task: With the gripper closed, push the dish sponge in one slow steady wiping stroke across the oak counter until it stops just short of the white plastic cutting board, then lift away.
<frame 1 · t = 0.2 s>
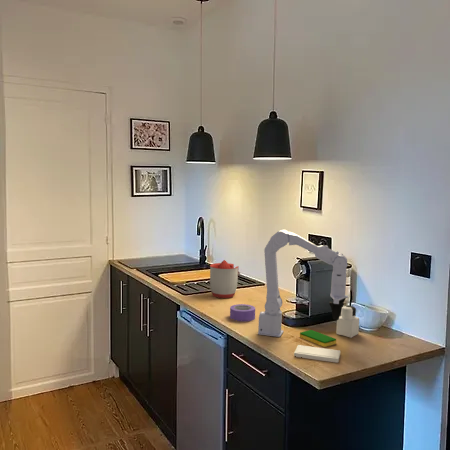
hand: (336, 316, 196), 10 cm above the worktop, tool pointing down, fingers open, 7 cm apart
dish sponge: (317, 341, 196), on the worktop
medicine bottle: (347, 334, 205), on the worktop
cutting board: (317, 355, 179), on the worktop
citrus juicer: (224, 296, 263), on the worktop
tape roll: (242, 318, 224), on the worktop
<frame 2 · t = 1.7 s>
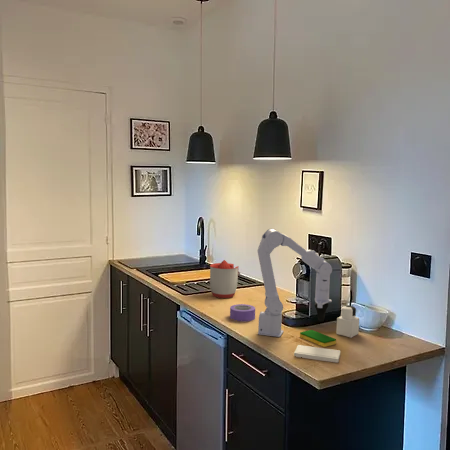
hand: (321, 320, 204), 6 cm above the worktop, tool pointing down, fingers closed
nothing on the worktop moved.
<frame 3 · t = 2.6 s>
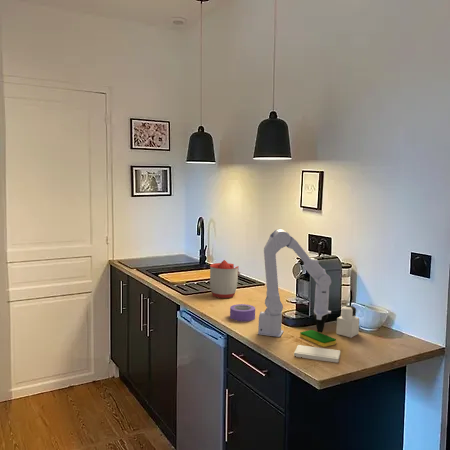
hand: (320, 331, 204), 1 cm above the worktop, tool pointing down, fingers closed
nothing on the worktop moved.
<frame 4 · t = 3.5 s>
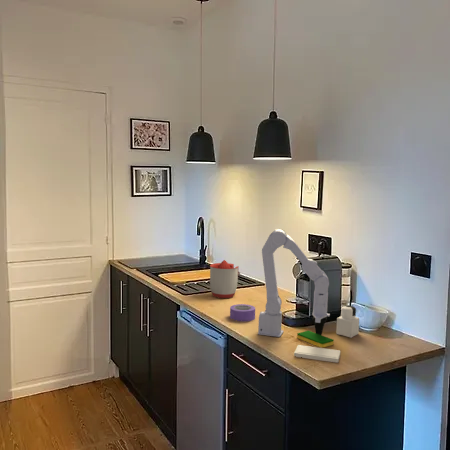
hand: (318, 334, 200), 1 cm above the worktop, tool pointing down, fingers closed
dish sponge: (314, 342, 195), on the worktop
everything else where it was.
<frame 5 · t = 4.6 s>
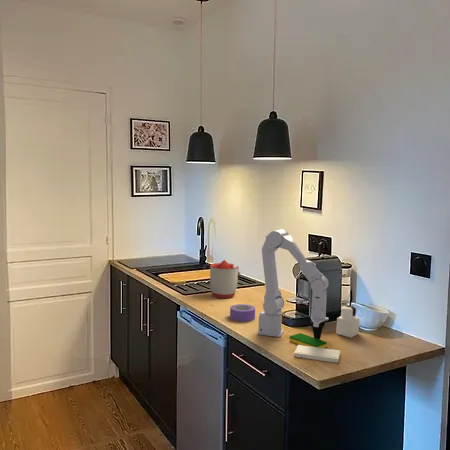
hand: (317, 339, 194), 1 cm above the worktop, tool pointing down, fingers closed
dish sponge: (307, 345, 192), on the worktop
everything else where it was.
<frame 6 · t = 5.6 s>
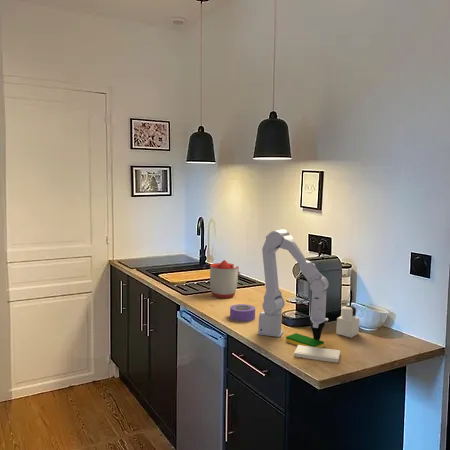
hand: (316, 340, 193), 1 cm above the worktop, tool pointing down, fingers closed
dish sponge: (304, 345, 191), on the worktop
everything else where it was.
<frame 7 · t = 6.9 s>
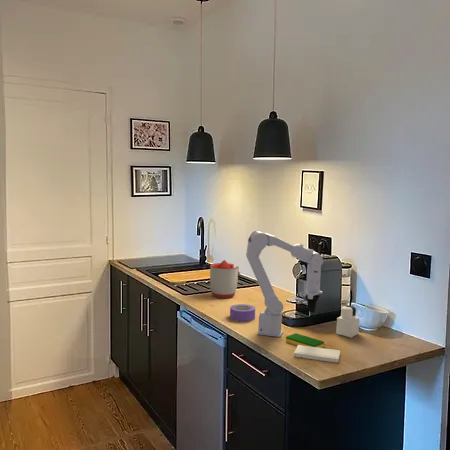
hand: (311, 311, 203), 9 cm above the worktop, tool pointing down, fingers closed
nothing on the worktop moved.
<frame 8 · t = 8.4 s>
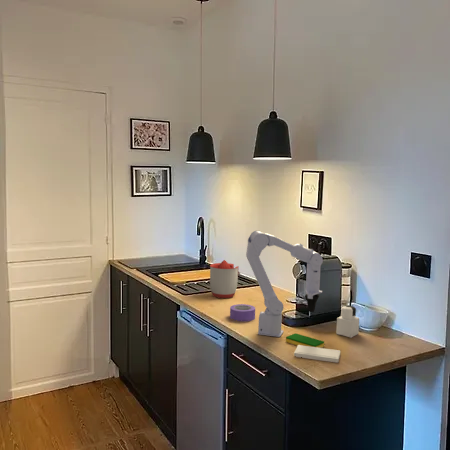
hand: (311, 311, 204), 9 cm above the worktop, tool pointing down, fingers closed
nothing on the worktop moved.
at the end: dish sponge inside the target area (4.5 cm from its centre), on the worktop; dish sponge moved 7.7 cm from its start; dish sponge touching worktop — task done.
